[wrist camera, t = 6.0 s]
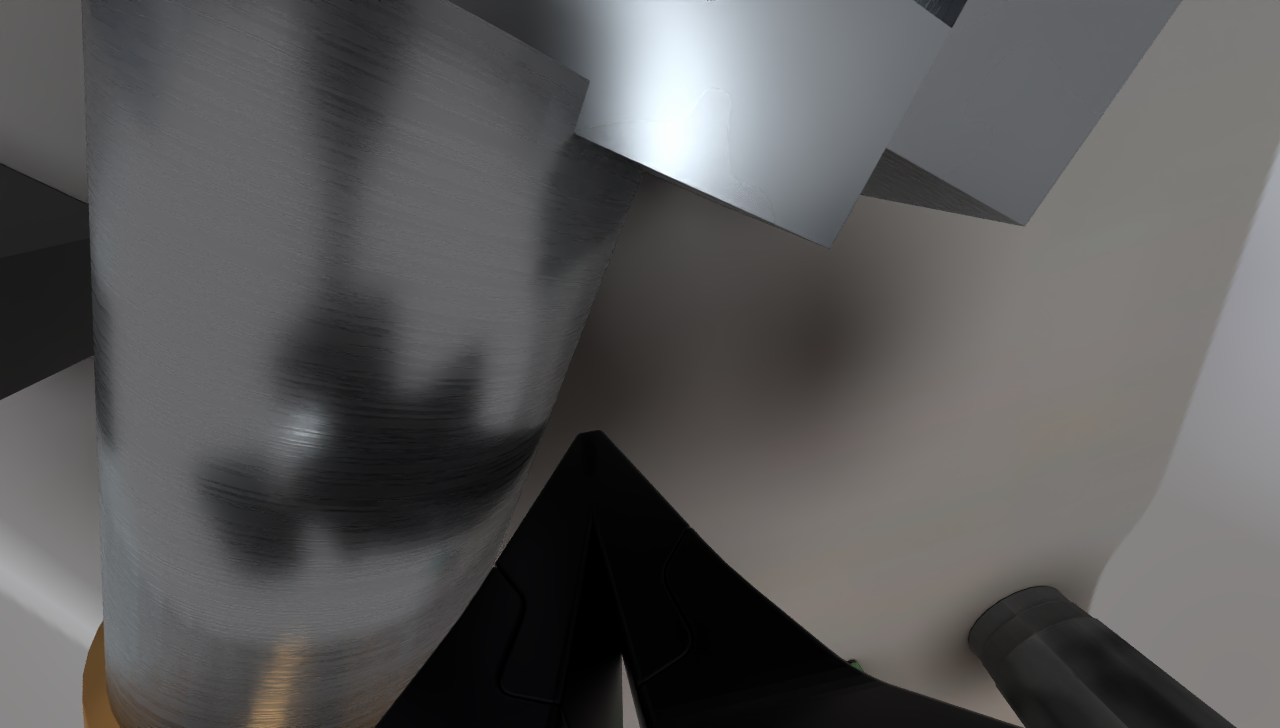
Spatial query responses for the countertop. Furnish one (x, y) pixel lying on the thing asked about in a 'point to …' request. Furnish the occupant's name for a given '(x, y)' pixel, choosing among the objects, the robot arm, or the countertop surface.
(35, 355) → the block
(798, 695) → the robot arm
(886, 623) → the countertop surface
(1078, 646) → the beverage cup
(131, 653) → the flanged pipe fitting
